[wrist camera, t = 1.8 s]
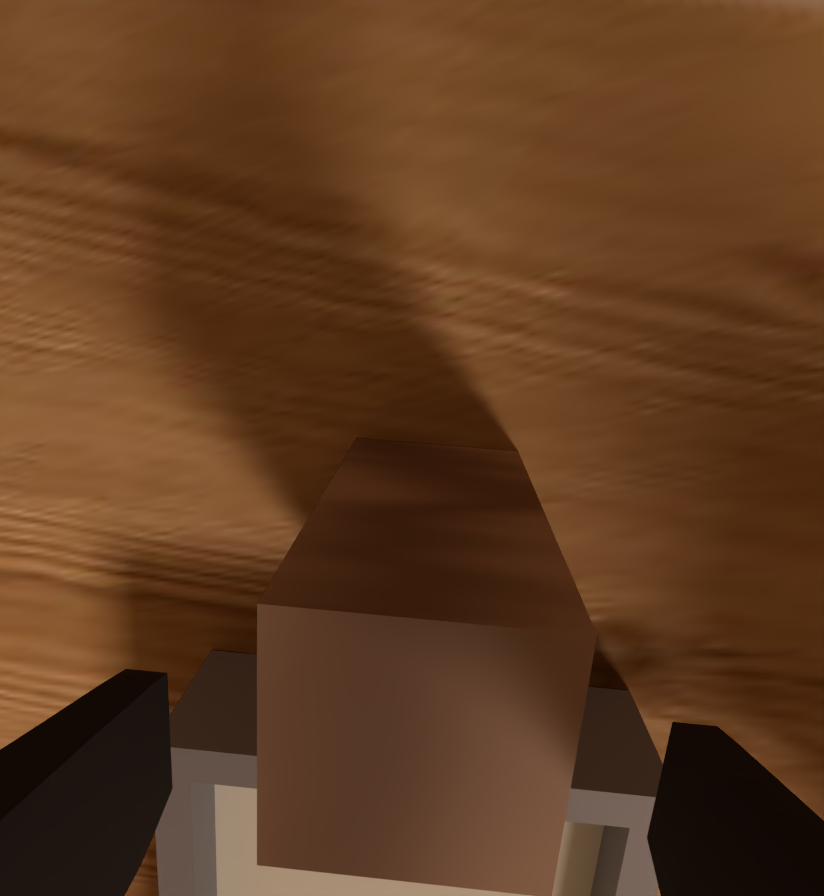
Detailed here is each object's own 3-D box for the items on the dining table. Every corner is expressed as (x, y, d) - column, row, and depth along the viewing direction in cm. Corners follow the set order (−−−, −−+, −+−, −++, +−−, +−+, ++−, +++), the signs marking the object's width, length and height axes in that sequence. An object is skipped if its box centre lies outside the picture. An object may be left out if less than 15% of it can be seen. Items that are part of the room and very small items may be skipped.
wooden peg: (517, 451, 16) (596, 635, 8) (500, 596, 18) (551, 897, 9) (356, 437, 17) (257, 604, 8) (349, 582, 18) (256, 865, 9)
